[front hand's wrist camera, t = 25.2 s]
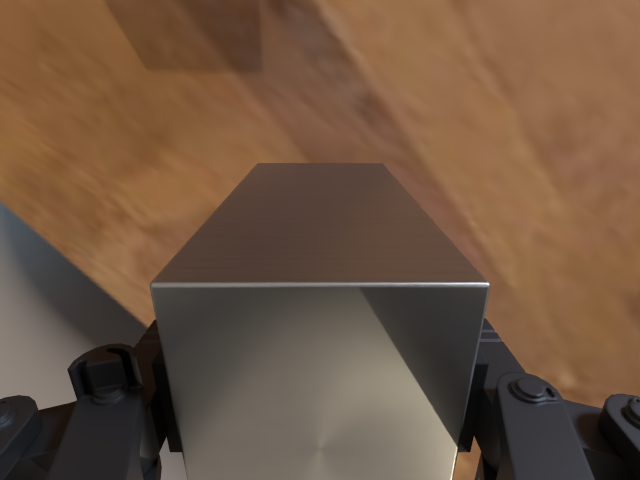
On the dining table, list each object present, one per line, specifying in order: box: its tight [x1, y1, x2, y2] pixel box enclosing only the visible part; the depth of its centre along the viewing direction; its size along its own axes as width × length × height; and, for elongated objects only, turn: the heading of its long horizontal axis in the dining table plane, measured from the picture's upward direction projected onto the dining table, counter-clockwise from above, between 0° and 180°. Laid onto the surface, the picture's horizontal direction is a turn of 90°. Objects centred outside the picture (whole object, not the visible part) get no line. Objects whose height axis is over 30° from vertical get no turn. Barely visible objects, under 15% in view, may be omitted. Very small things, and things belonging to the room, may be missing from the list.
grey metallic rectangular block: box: [150, 163, 490, 480], centre depth 13 cm, size 6×8×12 cm
